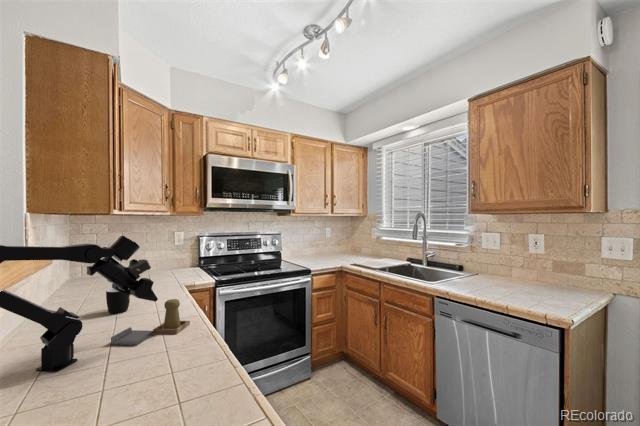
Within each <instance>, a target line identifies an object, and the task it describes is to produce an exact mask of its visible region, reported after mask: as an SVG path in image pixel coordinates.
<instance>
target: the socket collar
mask: <svg viewBox="0 0 640 426" xmlns="http://www.w3.org/2000/svg"><path fill="white" fill-rule="evenodd" d="M180 324H181V326H180V327H178V328H177V329H163V327H164V322H163V323H161V324H160V325H158V326H156V327H154V328H153V329H152V331H153V335H155V334H157V335H158V334H159V335H161V334H162V335H178V334H179V333H180V332H181V331H183V330H185V329H186V328H188V327H189V326H190V325H191V321H190V320H180Z"/></svg>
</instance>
